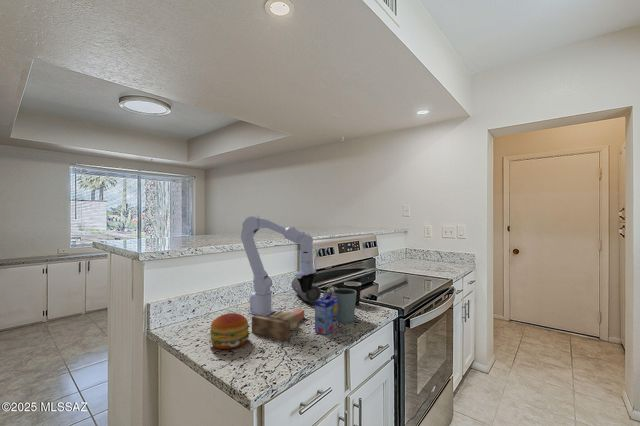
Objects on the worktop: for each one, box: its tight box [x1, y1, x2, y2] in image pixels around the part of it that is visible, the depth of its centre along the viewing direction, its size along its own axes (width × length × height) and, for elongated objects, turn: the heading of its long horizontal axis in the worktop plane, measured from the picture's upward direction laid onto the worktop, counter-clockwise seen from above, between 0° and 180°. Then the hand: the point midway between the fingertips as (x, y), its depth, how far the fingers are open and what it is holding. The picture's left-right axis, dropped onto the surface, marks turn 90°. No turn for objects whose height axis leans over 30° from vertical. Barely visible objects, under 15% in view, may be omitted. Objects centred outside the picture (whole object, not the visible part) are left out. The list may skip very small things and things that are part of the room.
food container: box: [322, 285, 339, 297], centre depth 135 cm, size 12×6×10 cm, turn 168°
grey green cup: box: [332, 287, 357, 324], centre depth 125 cm, size 10×10×12 cm
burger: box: [208, 312, 250, 350], centre depth 103 cm, size 13×14×10 cm
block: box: [269, 310, 298, 331], centre depth 116 cm, size 8×7×5 cm
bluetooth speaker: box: [291, 276, 322, 303], centre depth 154 cm, size 23×9×10 cm, turn 23°
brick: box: [291, 308, 305, 323], centre depth 124 cm, size 3×8×3 cm, turn 152°
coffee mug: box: [336, 281, 362, 307], centre depth 146 cm, size 12×9×10 cm
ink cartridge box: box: [314, 292, 339, 336], centre depth 114 cm, size 10×6×14 cm, turn 149°
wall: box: [251, 314, 291, 342], centre depth 109 cm, size 16×2×6 cm, turn 62°
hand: (306, 291), depth 132 cm, fingers open, 3 cm apart
